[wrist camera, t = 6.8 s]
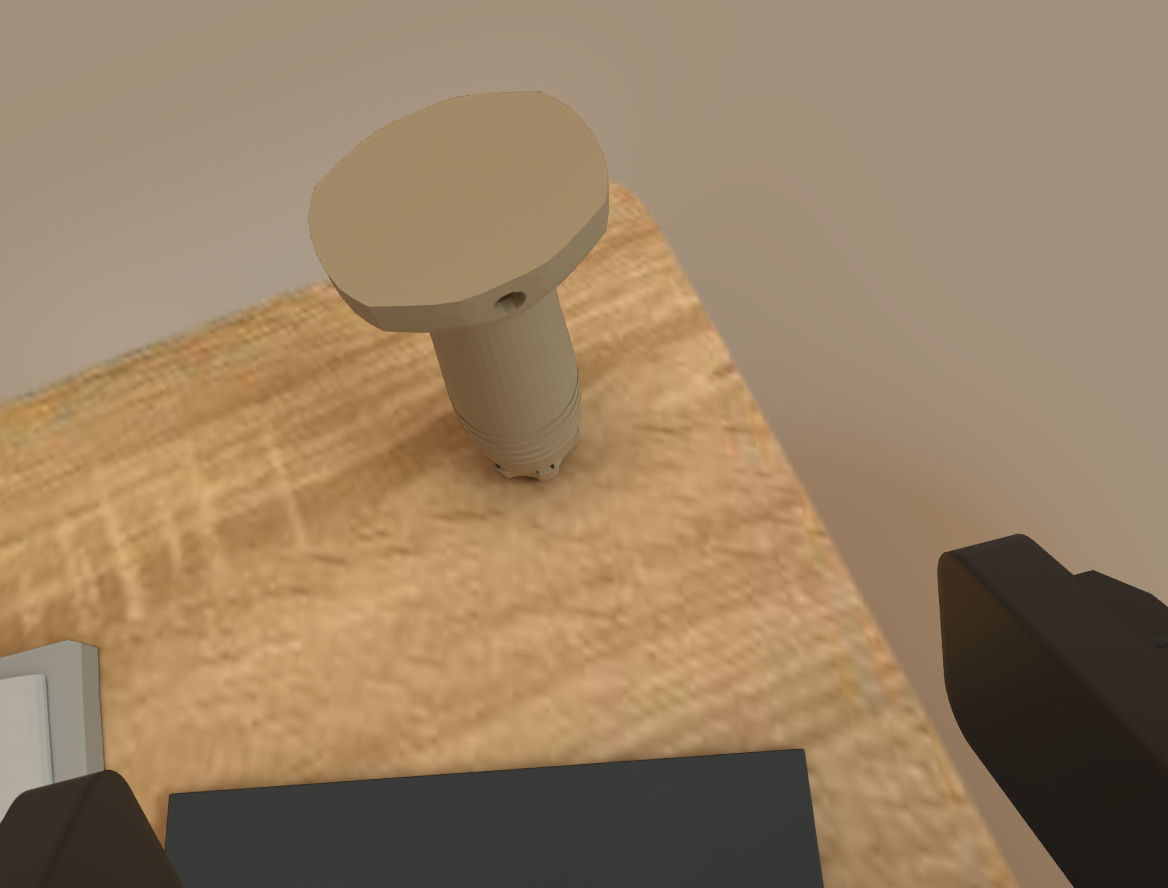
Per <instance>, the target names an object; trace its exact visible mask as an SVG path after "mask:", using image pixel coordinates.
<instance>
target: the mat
mask: <svg viewBox="0 0 1168 888" xmlns="http://www.w3.org/2000/svg"><path fill="white" fill-rule="evenodd" d="M165 853H166V855H167V857H168V859H169V860H170V862H171V864H172V866H173V868H174V870H175V872H176V873H177V875H178V877H179V879H180V881H181V883H182V886H183V888H824V885H823V878H822V871H821V864H820V857H819V850H818V843H817V836H816V829H815V822H814V815H813V807H812V800H811V793H810V786H809V779H808V772H807V765H806V758H805V751H804V749H789V750H775V751H761V752H747V753H733V754H719V755H705V756H692V757H678V758H664V759H650V760H636V761H622V762H608V763H594V764H580V765H566V766H552V767H538V768H524V769H510V770H496V771H482V772H468V773H454V774H440V775H426V776H412V777H398V778H384V779H371V780H357V781H343V782H329V783H315V784H301V785H287V786H273V787H259V788H245V789H231V790H217V791H203V792H189V793H175V794H170V795H169V804H168V816H167V828H166V840H165Z"/></svg>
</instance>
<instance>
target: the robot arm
mask: <svg viewBox="0 0 1168 888" xmlns="http://www.w3.org/2000/svg"><path fill="white" fill-rule="evenodd" d="M937 570H938V572H937V573H938V591H939V605H940V619H941V620H940V621H941V636H942V651H943V666H944V678H945V686H946V691H947V695H948V699H949V702H950V705H951V709H952V711H953V714H954V716H955V719H956V721H957V723H958V726H959V728H960V730H961V732H962V734H963V735H964V737H965V739H966V741H967V742H968V743H969V745H970V746H971V748H972V749H973V751H974V752H975V753H976V755H977V756H978V757H979V759H980V760H981V761H982V763H983V764H984V765H985V767H986V768H987V770H988V771H989V772H990V774H991V775H992V776H993V778H994V779H995V780H996V782H997V783H998V785H999V786H1000V787H1001V789H1002V790H1003V791H1004V792H1005V794H1006V795H1007V797H1008V798H1009V800H1010V801H1011V802H1012V804H1013V805H1014V806H1015V808H1016V809H1017V810H1018V812H1019V813H1020V815H1021V816H1022V817H1023V819H1024V820H1025V821H1026V823H1027V824H1028V826H1029V827H1030V828H1031V830H1032V831H1033V832H1034V834H1035V835H1036V836H1037V838H1038V839H1039V840H1040V842H1041V843H1042V844H1043V846H1044V847H1045V849H1046V850H1047V851H1048V853H1049V854H1050V855H1051V857H1052V858H1053V860H1054V861H1055V862H1056V864H1057V865H1058V866H1059V868H1060V869H1061V870H1062V872H1063V873H1064V875H1065V876H1066V877H1067V879H1068V880H1069V881H1070V883H1071V884H1072V885H1073V887H1074V888H1168V607H1167V606H1166V605H1165V604H1163V603H1162V602H1161V601H1159V600H1158V599H1157V598H1156V597H1155V596H1153V595H1152V594H1150V593H1148V592H1145V591H1143V590H1140V589H1138V588H1135V587H1133V586H1130V585H1128V584H1126V583H1123V582H1121V581H1118V580H1116V579H1114V578H1111V577H1109V576H1106V575H1104V574H1102V573H1099V572H1097V571H1094V570H1092V571H1088V572H1084V573H1080V574H1076V575H1073V574H1071V573H1070V572H1069V571H1068V570H1067V569H1066V568H1065V567H1063V566H1062V565H1061V564H1060V563H1059V562H1058V561H1056V560H1055V559H1054V558H1053V557H1052V556H1051V555H1049V554H1048V553H1047V552H1046V551H1045V550H1044V549H1043V548H1041V547H1040V546H1039V545H1038V544H1037V543H1036V542H1035V541H1033V540H1032V539H1030V538H1029V537H1028V536H1025V535H1023V534H1015V535H1011V536H1007V537H1004V538H1000V539H996V540H992V541H988V542H984V543H980V544H977V545H973V546H969V547H964V548H961V549H957V550H953V551H949V552H945V553H943V554H942V555H941V557H940V559H939V562H938V569H937ZM0 888H183V886H182V883H181V881H180V879H179V877H178V875H177V873H176V872H175V870H174V868H173V866H172V864H171V862H170V860H169V859H168V857H167V855H166V853H165V851H164V849H163V848H162V846H161V844H160V842H159V840H158V838H157V836H156V835H155V833H154V831H153V829H152V827H151V825H150V824H149V822H148V820H147V818H146V816H145V814H144V812H143V811H142V809H141V807H140V805H139V803H138V801H137V800H136V798H135V796H134V794H133V792H132V790H131V789H130V787H129V785H128V784H127V782H126V781H125V779H124V778H123V777H122V776H121V775H120V774H118V773H117V772H115V771H112V770H104V771H100V772H96V773H92V774H88V775H84V776H80V777H77V778H73V779H69V780H65V781H61V782H57V783H53V784H49V785H45V786H41V787H38V788H34V789H30V790H26V791H24V792H23V793H21V794H20V795H19V796H18V797H17V798H16V799H15V800H14V801H13V803H12V804H11V806H10V807H9V809H8V811H7V813H6V814H5V816H4V818H3V820H2V821H1V823H0Z"/></svg>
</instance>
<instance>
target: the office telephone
mask: <svg viewBox="0 0 1168 888" xmlns="http://www.w3.org/2000/svg"><path fill="white" fill-rule="evenodd" d="M100 771H104V759H103V744H102V728H101V713H100V697H99V667H98V649H97V647H95V646H92V645H88V644H85V643H81V642H76V641H72V640H65V641H62V642H58V643H54V644H50V645H47V646H43V647H39V648H36V649H32V650H28V651H24V652H21V653H17V654H13V655H9V656H6V657H2V658H0V823H1V821H2V820H3V818H4V816H5V814H6V813H7V811H8V809H9V807H10V806H11V804H12V803H13V801H14V800H15V799H16V798H17V797H18V796H19V795H20V794H21V793H23V792H24V791H26V790H30V789H34V788H38V787H41V786H45V785H49V784H53V783H57V782H61V781H65V780H69V779H73V778H77V777H80V776H84V775H88V774H92V773H96V772H100Z"/></svg>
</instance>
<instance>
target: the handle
mask: <svg viewBox="0 0 1168 888" xmlns="http://www.w3.org/2000/svg"><path fill="white" fill-rule="evenodd" d="M608 214H609V183H608V169H607V166H606V162H605V158H604V154H603V152H602V150H601V148H600V146H599V144H598V141H597V140H596V138H595V135H594V134H593V133H592V131H591V130H590V128H589V127H588V126H587V124H586V123H585V122H584V120H583V119H582V118H581V117H580V116H579V115H578V114H577V113H576V112H575V111H573V109H571V108H570V107H569V106H568V105H566V104H564V103H563V102H561V101H560V100H558V99H556V98H555V97H552V96H550V95H548V94H545V93H543V92H541V91H533V92H532V91H531V92H501V93H484V94H483V93H482V94H474V95H467V96H460V97H456V98H452V99H449V100H446V101H444V102H440V103H437V104H435V105H432V106H430V107H427V108H426V109H423V110H420V111H418V112H416V113H413V114H411V115H409V116H406V117H404V118H401V119H399V120H397V121H394V122H392V123H391V124H389V125H387V126H385V127H383V128H381V129H379V130H377V131H375V132H374V133H372V134H371V135H370V136H369V137H367V138H366V139H365V140H363V141H362V142H361V143H359V144H358V145H357V146H356V147H355V148H354V149H353V150H352V151H351V152H350V153H348V155H346V156H345V157H344V158H343V159H342V160H341V161H340V162H339V163H338V164H337V165H336V166H335V167H334V168H333V169H332V170H331V171H330V172H329V173H328V174H327V175H326V176H325V177H324V178H323V179H322V180H321V181H320V182H319V183H318V184H317V185H316V186H315V187H314V190H313V194H312V197H311V201H310V208H309V215H308V221H309V229H310V236H311V239H312V243H313V246H314V249H315V252H316V255H317V257H318V259H319V261H320V262H321V264H322V266H323V268H324V270H325V271H326V273H327V275H328V276H329V278H330V280H331V282H332V283H333V285H334V287H335V288H336V290H337V291H338V293H339V294H340V296H341V297H342V298H343V299H344V300H345V302H346V303H347V304H348V305H349V306H350V308H351V309H352V310H353V311H354V312H355V313H356V314H357V315H359V316H360V317H361V318H363V319H364V320H366V321H367V322H368V323H370V324H372V325H373V326H375V327H377V328H379V329H381V330H383V331H390V332H429V333H430V336H431V338H432V341H433V345H434V348H435V351H436V355H437V358H438V361H439V365H440V368H441V371H442V375H443V378H444V382H445V385H446V388H447V392H448V395H449V397H450V400H451V402H452V405H453V407H454V409H455V411H456V414H457V416H458V418H459V420H460V422H461V423H462V425H463V427H464V429H465V430H466V432H467V433H468V434H469V436H470V437H471V439H472V440H473V441H474V443H475V444H476V445H477V446H478V448H479V449H480V450H481V451H482V452H483V453H484V454H485V455H486V456H487V457H489V458H490V459H491V460H492V461H493V466H494V467H495V469H496V470H497V471H498V472H499V473H501V474H502V475H503V476H505V477H507V478H513V477H516V476H529V477H534V478H537V479H539V480H540V481H547V480H550V479H552V478H554V477H555V476H556V475H557V474H558V472H559V466H560V464H561V462H562V460H563V458H564V457H565V456H566V455H567V453H568V452H570V451H571V450H572V449H574V448H575V447H576V445H577V442H578V433H579V428H578V423H579V416H580V400H581V392H580V379H579V372H578V367H577V362H576V357H575V353H574V350H573V347H572V343H571V340H570V337H569V333H568V330H567V327H566V323H565V320H564V317H563V313H562V310H561V307H560V303H559V299H558V295H557V291H556V287H557V286H558V285H559V284H560V283H561V282H562V281H563V280H565V279H566V278H567V277H568V276H569V275H570V273H571V272H572V271H573V270H574V269H575V268H576V267H577V266H578V265H579V264H580V263H581V262H582V261H583V259H584V258H585V257H586V256H587V255H588V254H589V252H590V251H591V250H592V249H593V248H594V246H595V245H596V244H597V242H598V241H599V240H600V239H601V237H602V236H603V235H604V234H605V232H606V227H607V221H608Z"/></svg>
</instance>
